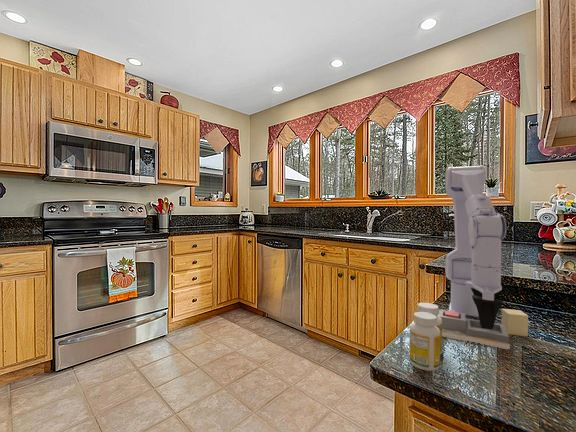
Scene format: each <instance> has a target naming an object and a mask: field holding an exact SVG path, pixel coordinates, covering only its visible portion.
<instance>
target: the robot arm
mask: <svg viewBox="0 0 576 432" xmlns="http://www.w3.org/2000/svg"><path fill="white" fill-rule="evenodd" d="M444 176H445V177H444V178H445V179H444V182H445V183H444V186H445V192H446V193H445V194H446V196H448V197H450V198H451V199H452V203H453V216H454V217H453V219H454V242H455V243H454V244H455V249H453V250H452V251H449V253H447V254H446V256H445V263H444V264H445V265H444V270H445V272H444V274H445V277H446V279H447V280H449V281H450V302H449V307H448V311H452V312H459V313H465V316H470V317H476V318H479V319H478V320H479V321H480V325H481V328H484V329H490V330H492V329H493V327H494V323H496V318H497V315H498V312H499V310H500V309H501V307H502V306H503V304H504V301H503V300H502V299H496V298H497V295H498V294H499V292H500V291H502V290H503V286H502V240H504V239H505V237H506V235H507V222H506V219H505V216H504V215H503V214H500V212H497V211H496V210H495V207H494V204H493V202H492V200H491V198H490V196H488V195H486V194H484V190H483V187H484V185H485V183H486V180H487V170H486V168H485V166H484V165H481V164H480V165H475V166H474V165H472V166H471V165H470V166H448V167H447V168H446V169H445V175H444Z"/></svg>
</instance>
